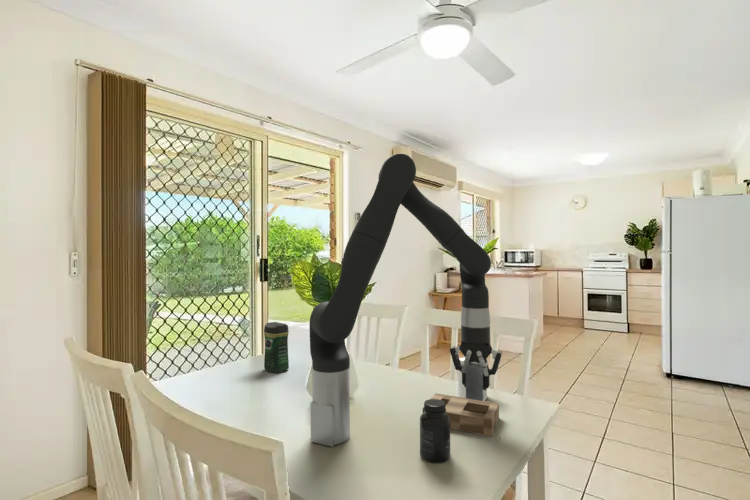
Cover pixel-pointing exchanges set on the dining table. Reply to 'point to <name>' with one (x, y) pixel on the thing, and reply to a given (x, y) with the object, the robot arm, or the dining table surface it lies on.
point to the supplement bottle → (435, 432)
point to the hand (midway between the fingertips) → (475, 387)
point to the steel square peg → (474, 381)
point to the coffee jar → (276, 347)
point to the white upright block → (460, 386)
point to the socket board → (470, 414)
